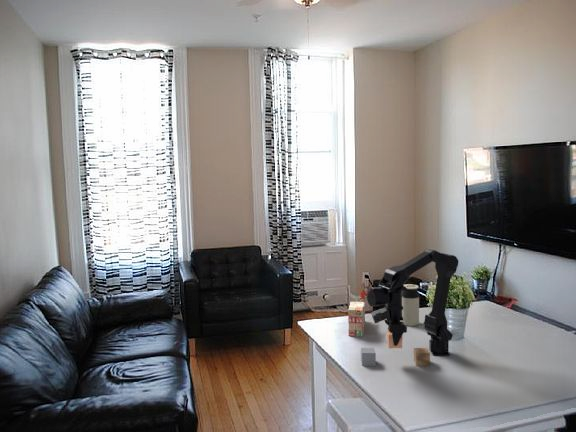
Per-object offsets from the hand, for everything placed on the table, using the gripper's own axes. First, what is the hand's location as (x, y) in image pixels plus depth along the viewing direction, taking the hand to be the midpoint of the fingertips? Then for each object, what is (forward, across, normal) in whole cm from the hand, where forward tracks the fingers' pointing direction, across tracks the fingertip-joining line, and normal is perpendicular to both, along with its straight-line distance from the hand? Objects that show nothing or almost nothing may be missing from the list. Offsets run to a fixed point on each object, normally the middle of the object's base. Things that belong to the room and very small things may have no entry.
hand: (394, 342), depth 180 cm
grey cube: (+8, 0, -10) cm, 13 cm away
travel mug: (+8, -45, +14) cm, 48 cm away
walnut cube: (+8, 0, +10) cm, 13 cm away
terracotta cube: (+1, 0, 0) cm, 1 cm away
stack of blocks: (+8, -39, -11) cm, 41 cm away
